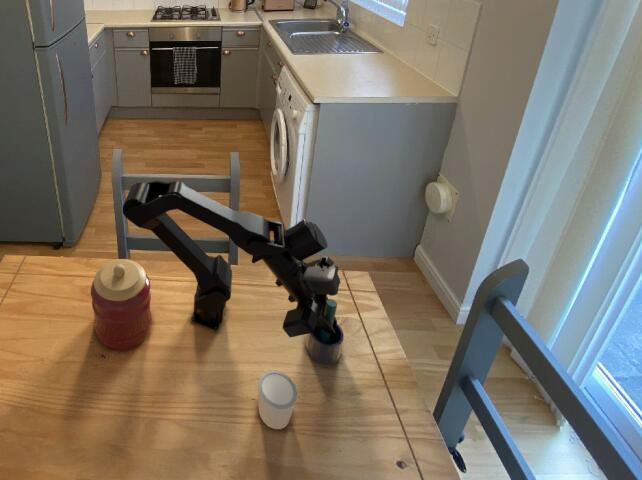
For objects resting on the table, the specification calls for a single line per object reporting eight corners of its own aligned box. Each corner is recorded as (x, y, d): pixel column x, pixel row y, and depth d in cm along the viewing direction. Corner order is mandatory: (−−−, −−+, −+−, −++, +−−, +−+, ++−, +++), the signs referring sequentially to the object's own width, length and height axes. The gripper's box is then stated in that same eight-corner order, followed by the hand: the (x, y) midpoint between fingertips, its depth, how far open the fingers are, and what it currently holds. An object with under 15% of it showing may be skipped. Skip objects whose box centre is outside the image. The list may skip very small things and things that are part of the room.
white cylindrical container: (294, 437, 75) (299, 412, 72) (255, 428, 76) (258, 404, 73) (291, 397, 81) (295, 373, 78) (255, 390, 82) (257, 366, 80)
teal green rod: (317, 349, 89) (326, 304, 84) (318, 341, 91) (327, 297, 86) (327, 352, 88) (336, 308, 83) (327, 344, 90) (337, 300, 85)
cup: (303, 356, 88) (306, 338, 86) (307, 329, 94) (310, 312, 92) (338, 369, 86) (342, 351, 84) (340, 341, 91) (344, 323, 89)
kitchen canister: (142, 295, 104) (140, 239, 97) (159, 341, 92) (157, 281, 85) (90, 310, 100) (83, 252, 93) (100, 359, 89) (94, 298, 82)
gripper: (306, 290, 75) (363, 361, 74) (326, 228, 90) (374, 287, 89) (260, 303, 82) (312, 369, 81) (286, 244, 97) (330, 299, 96)
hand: (334, 328), depth 86 cm, fingers closed
